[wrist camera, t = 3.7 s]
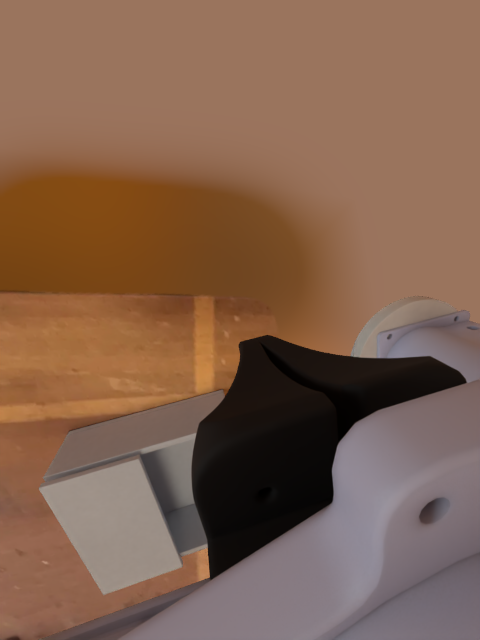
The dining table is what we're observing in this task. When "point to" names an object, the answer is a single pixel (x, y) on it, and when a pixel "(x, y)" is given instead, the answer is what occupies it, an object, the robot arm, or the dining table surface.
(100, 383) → the dining table surface
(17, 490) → the dining table surface
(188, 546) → the carton
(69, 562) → the dining table surface
